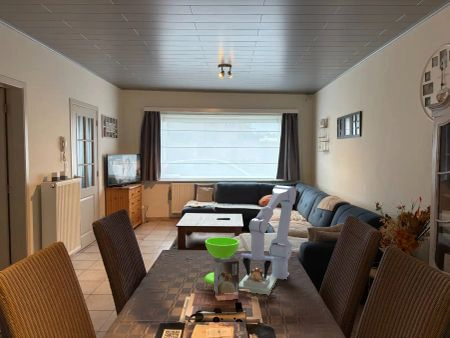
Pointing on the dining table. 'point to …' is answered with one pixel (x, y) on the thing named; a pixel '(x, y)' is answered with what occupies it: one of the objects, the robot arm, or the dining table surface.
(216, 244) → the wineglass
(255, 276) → the spout can
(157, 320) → the dining table surface
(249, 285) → the pale green rectangular tray
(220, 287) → the coffee box
